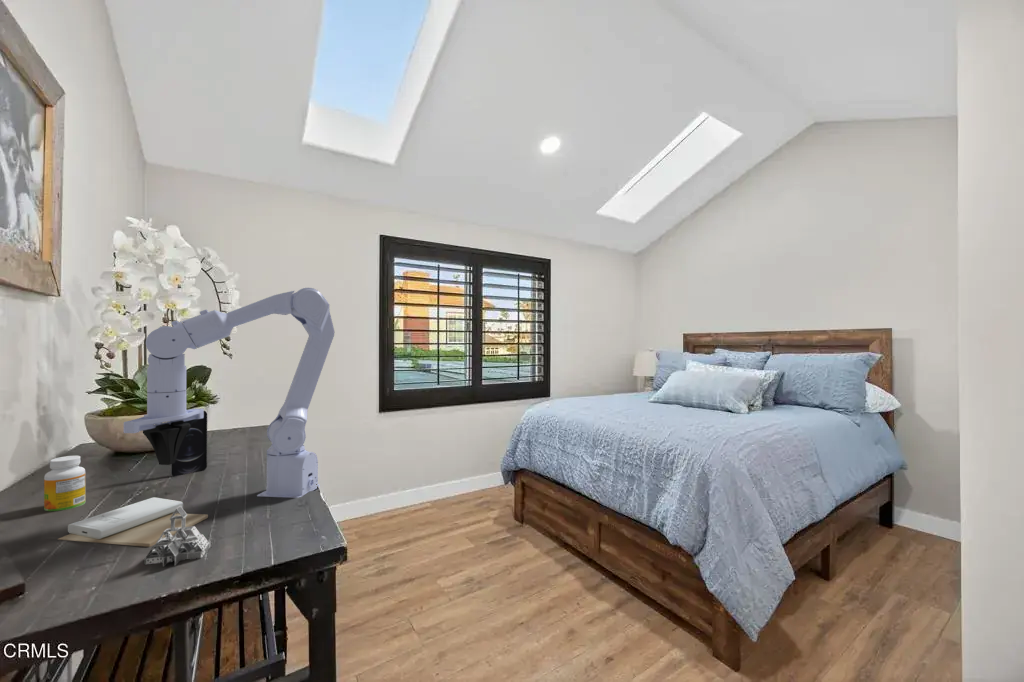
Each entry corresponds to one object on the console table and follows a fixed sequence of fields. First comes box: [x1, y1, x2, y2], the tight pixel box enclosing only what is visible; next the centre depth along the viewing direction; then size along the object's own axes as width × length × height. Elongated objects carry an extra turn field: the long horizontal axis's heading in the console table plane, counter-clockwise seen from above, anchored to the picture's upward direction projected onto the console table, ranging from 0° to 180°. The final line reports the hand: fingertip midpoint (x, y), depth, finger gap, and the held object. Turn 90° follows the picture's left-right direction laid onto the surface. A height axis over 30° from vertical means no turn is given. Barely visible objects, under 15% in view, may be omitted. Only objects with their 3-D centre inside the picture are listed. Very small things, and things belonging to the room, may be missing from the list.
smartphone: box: [169, 410, 208, 478], centre depth 101 cm, size 8×1×15 cm, turn 148°
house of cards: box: [143, 506, 212, 568], centre depth 60 cm, size 9×9×8 cm
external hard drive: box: [67, 497, 184, 539], centre depth 73 cm, size 2×8×12 cm
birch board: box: [58, 512, 209, 548], centre depth 71 cm, size 16×11×1 cm
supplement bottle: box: [43, 455, 86, 512], centre depth 80 cm, size 5×5×10 cm
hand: (167, 463), depth 79 cm, fingers closed
